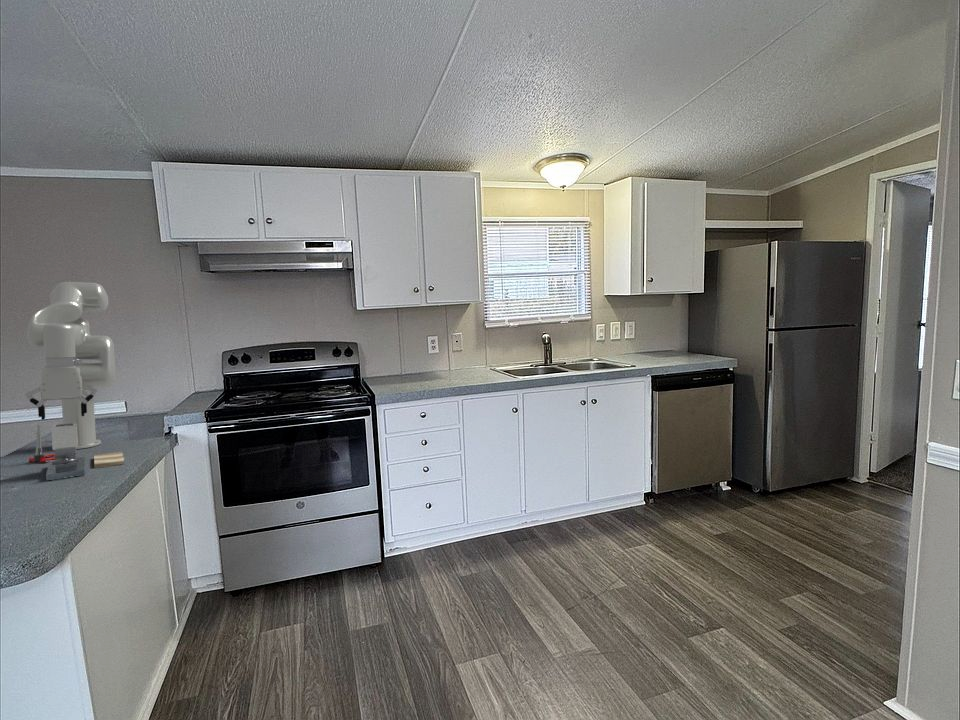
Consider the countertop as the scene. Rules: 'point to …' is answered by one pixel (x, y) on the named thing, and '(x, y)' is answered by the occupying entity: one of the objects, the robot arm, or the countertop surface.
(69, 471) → the grey peg stand
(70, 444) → the white hollow square block
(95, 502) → the countertop surface
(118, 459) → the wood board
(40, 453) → the tow hook
